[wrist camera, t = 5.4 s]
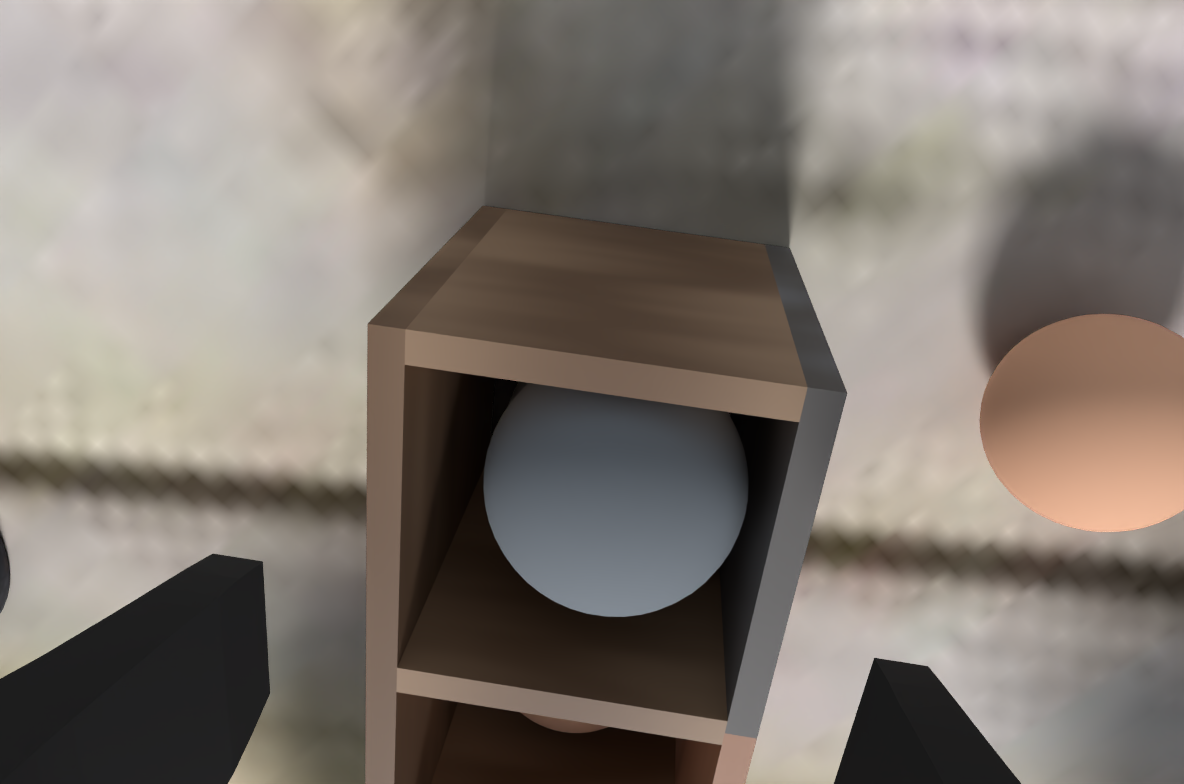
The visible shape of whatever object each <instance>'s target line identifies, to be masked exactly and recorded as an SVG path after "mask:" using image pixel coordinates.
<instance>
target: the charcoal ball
mask: <svg viewBox="0 0 1184 784" xmlns="http://www.w3.org/2000/svg"><path fill="white" fill-rule="evenodd" d="M748 479H749V478H748V467H747V460H746V456H745V451H744V447H743V444H742V441H741V439H740V436H739V433H738V431H737V429H736V427H735V425H734V423H733V421H732V419H731V417H730V415H729V414H728V412H725V411H718V410H711V409H704V408H698V407H691V406H684V405H677V404H670V403H663V402H656V401H650V400H643V399H636V398H629V397H622V396H615V395H609V394H602V393H595V392H588V391H581V390H574V389H568V388H561V387H554V386H547V385H540V384H533V383H528V384H527V385H526V386H525V387H524V388H523V389H522V390H521V391H520V392H519V393H518V395H517V396H516V397H515V398H514V399H513V400H512V401H511V403H510V404H509V406H508V407H507V408H506V410H505V411H504V413H503V414H502V416H501V418H500V420H499V422H498V424H497V426H496V428H495V430H494V433H493V435H492V438H491V441H490V444H489V447H488V450H487V455H486V460H485V466H484V499H485V507H486V512H487V516H488V520H489V524H490V526H491V529H492V531H493V534H494V537H495V539H496V541H497V543H498V544H499V546H500V548H501V550H502V552H503V554H504V555H505V557H506V558H507V560H508V561H509V562H510V564H511V565H512V566H513V568H514V569H515V570H516V571H517V572H518V573H519V574H520V576H521V577H522V578H523V579H524V580H525V581H526V582H527V583H528V584H530V585H531V586H532V587H533V588H535V589H536V590H537V591H538V592H540V593H541V594H543V595H544V596H546V597H548V598H549V599H551V600H553V601H554V602H556V603H559V604H561V605H563V606H565V607H568V608H570V609H573V610H576V611H580V612H583V613H586V614H593V615H599V616H608V617H626V616H635V615H642V614H646V613H650V612H654V611H657V610H660V609H662V608H665V607H667V606H669V605H672V604H674V603H676V602H678V601H680V600H682V599H683V598H685V597H687V596H688V595H690V594H692V593H693V592H694V591H696V590H697V589H698V588H699V587H700V586H702V585H703V584H704V583H705V582H706V581H707V580H708V579H709V578H710V577H711V576H712V575H713V574H714V573H715V572H716V570H717V569H718V568H719V567H720V566H721V565H722V563H723V562H724V560H725V559H726V557H727V556H728V555H729V553H730V552H731V549H732V547H733V545H734V543H735V541H736V539H737V537H738V535H739V532H740V529H741V526H742V523H743V520H744V517H745V513H746V507H747V502H748Z"/></svg>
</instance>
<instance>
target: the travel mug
mask: <svg viewBox="0 0 1184 784" xmlns="http://www.w3.org/2000/svg"><path fill="white" fill-rule="evenodd" d="M9 582H10V572H9V565H8V559H7V555H6V552H5V548H4V545H3V542H2V540H1V538H0V613H1V611H2V610H3V607H4V605H5V602H6V600H7V596H8V591H9Z"/></svg>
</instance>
